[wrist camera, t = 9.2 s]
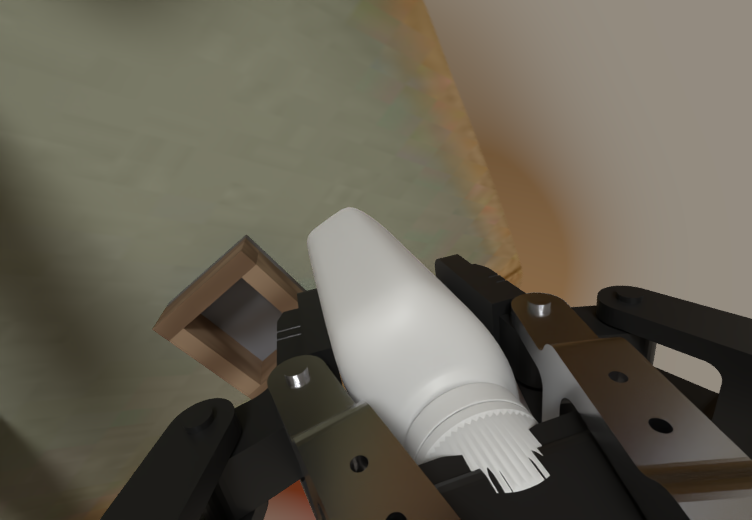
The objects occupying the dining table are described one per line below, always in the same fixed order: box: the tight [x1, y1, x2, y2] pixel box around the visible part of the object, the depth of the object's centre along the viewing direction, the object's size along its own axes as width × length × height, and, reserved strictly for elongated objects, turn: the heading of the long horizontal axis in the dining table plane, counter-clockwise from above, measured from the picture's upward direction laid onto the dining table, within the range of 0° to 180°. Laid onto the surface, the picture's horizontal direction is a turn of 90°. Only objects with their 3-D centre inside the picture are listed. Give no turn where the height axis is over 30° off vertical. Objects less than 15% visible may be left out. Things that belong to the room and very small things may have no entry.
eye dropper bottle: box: [307, 207, 550, 493], centre depth 9 cm, size 4×6×12 cm
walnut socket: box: [152, 235, 306, 399], centre depth 31 cm, size 11×9×4 cm
